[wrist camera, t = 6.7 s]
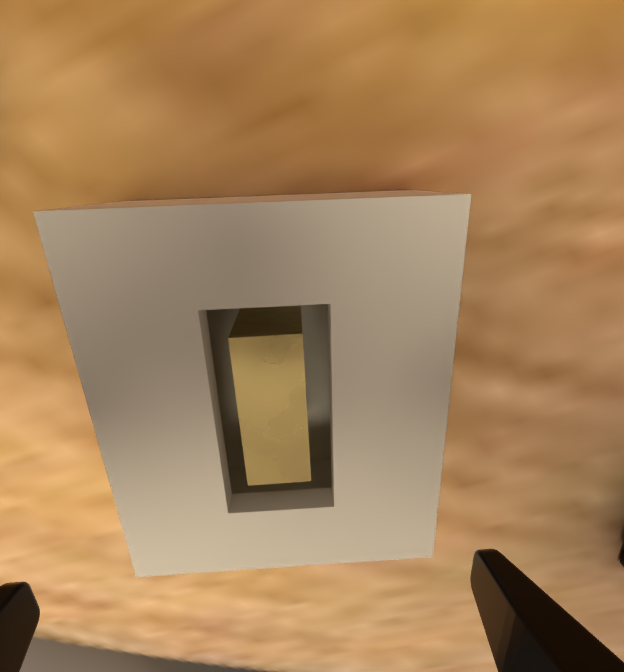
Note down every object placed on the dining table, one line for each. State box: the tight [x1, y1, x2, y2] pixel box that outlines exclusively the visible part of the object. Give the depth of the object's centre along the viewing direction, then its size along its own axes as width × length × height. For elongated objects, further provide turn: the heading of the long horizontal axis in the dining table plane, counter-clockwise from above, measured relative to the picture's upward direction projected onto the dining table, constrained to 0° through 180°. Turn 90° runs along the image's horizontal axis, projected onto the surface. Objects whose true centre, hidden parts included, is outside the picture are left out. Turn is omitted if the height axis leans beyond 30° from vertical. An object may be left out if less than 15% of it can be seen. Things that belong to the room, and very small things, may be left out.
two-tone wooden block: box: [228, 305, 311, 486], centre depth 16 cm, size 2×6×5 cm, turn 3°
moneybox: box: [33, 190, 471, 577], centre depth 16 cm, size 12×14×6 cm
